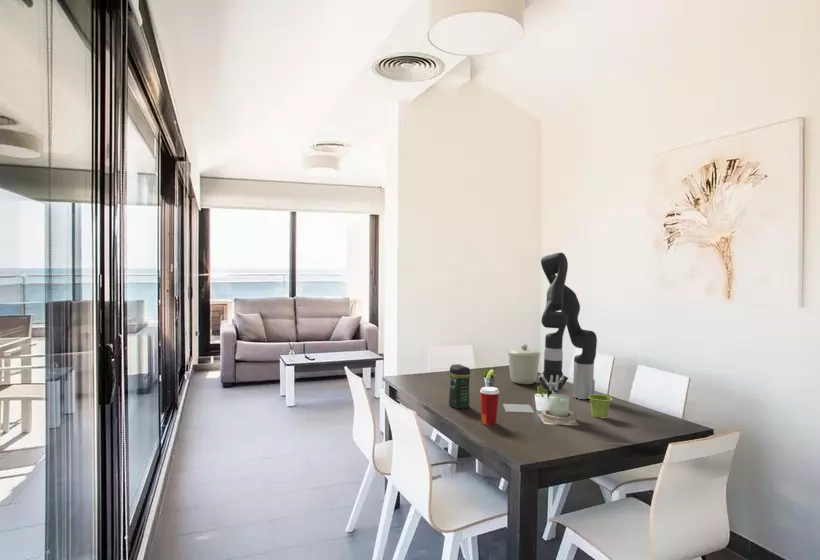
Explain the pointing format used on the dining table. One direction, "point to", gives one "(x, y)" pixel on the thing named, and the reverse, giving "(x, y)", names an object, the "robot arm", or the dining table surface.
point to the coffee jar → (459, 386)
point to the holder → (558, 419)
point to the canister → (523, 364)
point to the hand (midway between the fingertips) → (551, 398)
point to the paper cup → (489, 405)
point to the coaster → (518, 408)
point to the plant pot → (599, 405)
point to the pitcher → (558, 405)
